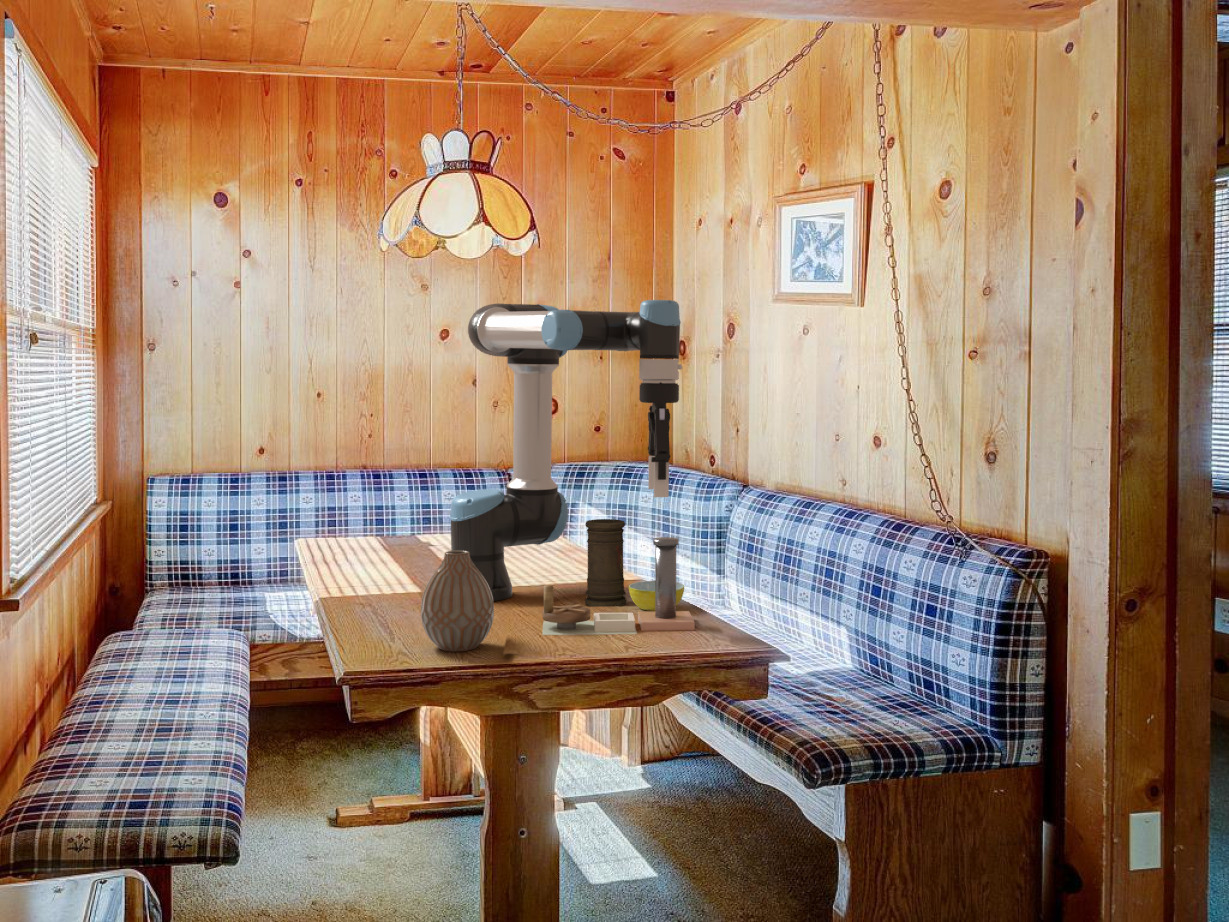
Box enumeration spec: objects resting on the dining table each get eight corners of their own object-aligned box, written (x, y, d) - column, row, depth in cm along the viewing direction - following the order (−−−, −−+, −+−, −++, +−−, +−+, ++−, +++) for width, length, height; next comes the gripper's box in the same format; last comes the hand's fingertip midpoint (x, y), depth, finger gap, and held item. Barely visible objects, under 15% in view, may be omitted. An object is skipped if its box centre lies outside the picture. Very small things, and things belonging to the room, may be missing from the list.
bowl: (643, 623, 237) (643, 592, 237) (619, 612, 248) (619, 582, 247) (694, 618, 242) (694, 588, 241) (669, 607, 252) (669, 578, 252)
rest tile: (641, 638, 224) (641, 622, 223) (638, 626, 234) (638, 611, 233) (694, 637, 224) (694, 621, 224) (688, 626, 234) (688, 611, 234)
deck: (542, 642, 220) (542, 624, 220) (543, 628, 232) (543, 611, 232) (637, 641, 221) (637, 623, 220) (633, 627, 233) (633, 610, 232)
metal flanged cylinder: (654, 619, 226) (654, 540, 225) (652, 614, 231) (652, 537, 230) (679, 619, 226) (679, 540, 225) (676, 613, 231) (677, 537, 230)
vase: (407, 652, 212) (406, 555, 211) (443, 637, 225) (442, 545, 223) (473, 658, 208) (472, 559, 206) (506, 642, 220) (505, 548, 219)
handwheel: (572, 625, 220) (572, 590, 219) (533, 619, 224) (533, 585, 224) (599, 616, 227) (599, 583, 227) (560, 611, 232) (560, 578, 232)
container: (596, 609, 250) (596, 524, 249) (577, 602, 258) (577, 519, 257) (634, 605, 254) (634, 522, 253) (614, 598, 262) (614, 517, 261)
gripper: (685, 383, 215) (684, 500, 216) (672, 380, 239) (671, 485, 241) (644, 383, 214) (643, 500, 216) (635, 380, 239) (634, 485, 241)
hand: (658, 493), depth 229 cm, fingers open, 13 cm apart
